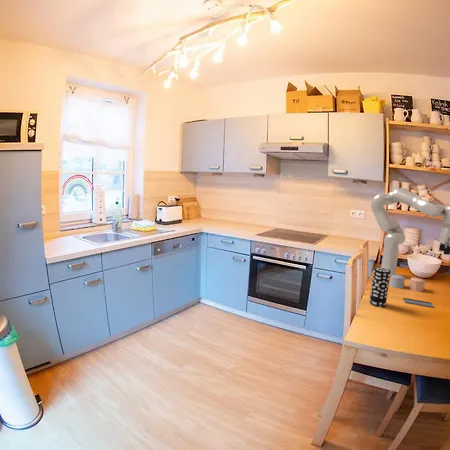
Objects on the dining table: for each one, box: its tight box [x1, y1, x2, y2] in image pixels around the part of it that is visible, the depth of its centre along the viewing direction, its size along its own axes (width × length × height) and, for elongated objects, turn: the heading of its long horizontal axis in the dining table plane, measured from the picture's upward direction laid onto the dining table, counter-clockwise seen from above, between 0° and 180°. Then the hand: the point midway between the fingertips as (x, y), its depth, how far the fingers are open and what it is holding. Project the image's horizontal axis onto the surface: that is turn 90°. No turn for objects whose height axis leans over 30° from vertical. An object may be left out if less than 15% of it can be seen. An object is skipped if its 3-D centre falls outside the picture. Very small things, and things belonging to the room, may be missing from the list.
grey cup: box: [389, 274, 406, 289], centre depth 207 cm, size 8×8×8 cm
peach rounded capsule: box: [408, 276, 426, 293], centre depth 203 cm, size 8×8×8 cm
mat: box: [402, 297, 434, 309], centre depth 189 cm, size 14×16×1 cm
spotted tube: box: [368, 267, 391, 308], centre depth 179 cm, size 8×8×20 cm
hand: (444, 252), depth 205 cm, fingers open, 9 cm apart
